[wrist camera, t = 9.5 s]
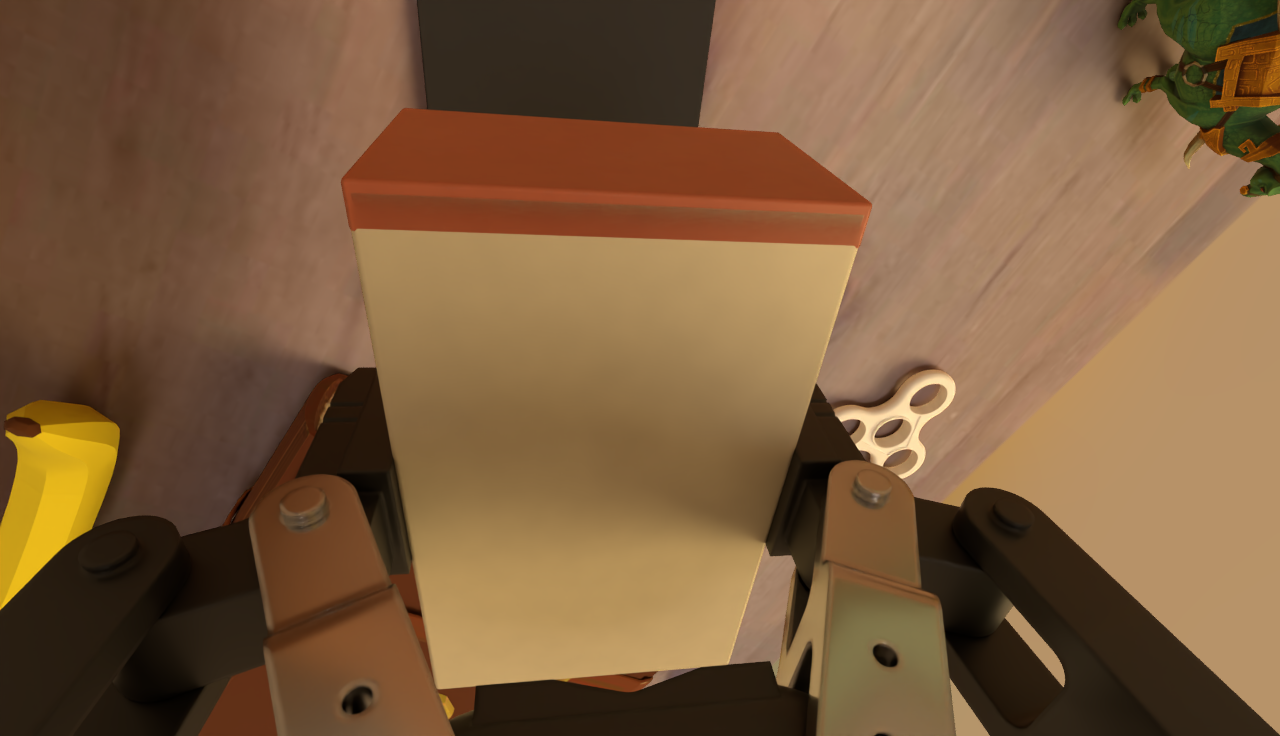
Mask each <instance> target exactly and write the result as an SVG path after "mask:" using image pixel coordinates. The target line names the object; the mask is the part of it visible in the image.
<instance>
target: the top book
mask: <svg viewBox="0 0 1280 736" xmlns="http://www.w3.org/2000/svg"><path fill="white" fill-rule="evenodd" d="M341 185H342V191H343V196H344V201H345V207H346V212H347V218H348V223H349V227H350V229H351V233H352V238H353V244H354V249H355V255H356V260H357V265H358V271H359V276H360V282H361V287H362V293H363V298H364V303H365V309H366V314H367V320H368V325H369V330H370V336H371V341H372V347H373V352H374V358H375V363H376V368H377V374H378V379H379V385H380V390H381V395H382V401H383V406H384V412H385V417H386V423H387V428H388V433H389V439H390V444H391V450H392V455H393V458H394V463H395V469H396V474H397V480H398V485H399V491H400V496H401V501H402V507H403V512H404V518H405V523H406V529H407V534H408V540H409V545H410V551H411V556H412V563H413V569H414V574H415V580H416V585H417V590H418V596H419V601H420V607H421V612H422V618H423V623H424V628H425V634H426V639H427V645H428V650H429V656H430V661H431V666H432V672H433V677H434V683H435V685H436V688H437V689H449V688H461V687H473V686H478V685H490V684H502V683H514V682H526V681H538V680H550V679H554V680H556V679H567V678H579V677H591V676H603V675H615V674H626V673H638V672H650V671H662V670H674V669H685V668H697V667H707V666H719V665H726V664H728V663H729V660H730V657H731V654H732V650H733V647H734V644H735V641H736V637H737V634H738V631H739V628H740V625H741V621H742V618H743V615H744V612H745V609H746V605H747V602H748V599H749V596H750V593H751V589H752V586H753V583H754V580H755V576H756V573H757V570H758V567H759V564H760V560H761V557H762V554H763V551H764V548H765V544H766V539H767V536H768V533H769V530H770V527H771V523H772V520H773V517H774V514H775V511H776V507H777V504H778V501H779V498H780V495H781V491H782V488H783V485H784V482H785V479H786V475H787V472H788V469H789V466H790V463H791V459H792V456H793V453H794V450H795V448H796V445H797V442H798V439H799V435H800V432H801V429H802V426H803V422H804V419H805V416H806V413H807V410H808V406H809V403H810V400H811V397H812V394H813V390H814V387H815V384H816V381H817V378H818V374H819V371H820V368H821V365H822V361H823V358H824V355H825V352H826V349H827V345H828V342H829V339H830V336H831V333H832V329H833V326H834V323H835V320H836V317H837V313H838V310H839V307H840V304H841V301H842V297H843V294H844V291H845V288H846V284H847V281H848V278H849V275H850V272H851V268H852V265H853V262H854V259H855V256H856V252H857V249H858V248H859V246H860V244H861V241H862V238H863V234H864V231H865V228H866V225H867V222H868V218H869V215H870V212H871V209H872V204H871V203H870V202H869V201H868V200H867V199H865V198H864V197H863V196H861V195H860V194H859V193H857V192H856V191H855V190H853V189H852V188H851V187H849V186H848V185H847V184H845V183H844V182H843V181H841V180H840V179H839V178H838V177H836V176H835V175H834V174H832V173H831V172H830V171H828V170H827V169H826V168H824V167H823V166H822V165H820V164H819V163H818V162H816V161H815V160H814V159H812V158H811V157H810V156H809V155H807V154H806V153H805V152H803V151H802V150H801V149H799V148H798V147H797V146H795V145H794V144H793V143H791V142H790V141H789V140H787V139H786V138H785V137H783V136H782V135H781V134H779V133H776V132H761V131H746V130H730V129H715V128H700V127H685V126H670V125H655V124H639V123H624V122H609V121H594V120H579V119H563V118H548V117H533V116H518V115H503V114H487V113H472V112H457V111H442V110H427V109H412V108H404V109H402V110H401V111H400V112H399V114H398V115H397V116H396V117H395V118H394V119H393V120H392V122H391V123H390V124H389V125H388V126H387V127H386V128H385V130H384V131H383V132H382V133H381V134H380V135H379V136H378V138H377V139H376V140H375V141H374V142H373V143H372V144H371V146H370V147H369V148H368V149H367V150H366V151H365V152H364V154H363V155H362V156H361V157H360V158H359V159H358V161H357V162H356V163H355V164H354V165H353V166H352V167H351V169H350V170H349V171H348V172H347V173H346V174H345V175H344V177H343V178H342V180H341Z"/></svg>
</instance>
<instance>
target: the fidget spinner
mask: <svg viewBox="0 0 1280 736" xmlns="http://www.w3.org/2000/svg"><path fill="white" fill-rule="evenodd" d="M930 384H940V390H939V392H938V394H937V395H936V397H935V398H934V399H933V400H931V401H930V402H928V403H927V404H925V405H922V406H917V407H913V406H910V400H911V398H912V397H913V395H914V394H915V393H916V392H917V391H918V390H919V389H921V388H922V387H924V386H927V385H930ZM954 395H955V383H954V381H953V379H952V378H951V377H950V376H949V375H948V374H947V373H945V372H943V371H941V370H935V369H932V370H925V371H921V372H919V373H916V374H914V375H913V376H911V377H910V378H908V379H907V380H906V381H905V382H904V383H903V384H902V385H901V386H900V388H899V389H898V391H897V393H896V394H895V395H894V396H893V397H892V398H891V399H890V400H888V401H887V402H885V403H883V404H881V405H879V406H876V407H870V408H865V407H861V406H857V405H845V406H841V407H838V408H835V409H833V410H834V412H835V417H838V418H839V420H840V421H841V422H843V421H845V420H849V419H857V420H860V425H859V427H858V429H857V430H856V431H855V432H854V433H853V434H852V435H850V437H851V439H852V440H853V442H854V443H855V445H856V447H857V448H858V450H863V451H866V452H868V453H870V456H871V458H870V462H871V463H874V464H877V465H880V466H882V467H883V464H884V462H885V460H886V459H887V458H888V457H889V456H890V455H891V454H893V453H895V452H897V451H899V450H904V449H910V450H912V452H911V454H910V456H909V457H908V459H907V460H906V461H904V462H903V463H901V464H900V465H897V466H894V467H884V468H886V469H888V470H890V471H892V472H893V473H895V474H896V475H897V476H899V477H900V478H901V479H902V478H905V477H907V476H909V475H911V474H912V473H914V472H915V471H916V470H917V469H918V468H919V467H920V466H921V465H922V463H923V461H924V459H925V448H924V446H923V444H922V443H921V442H920V441H919V439H918V435H919V432H920V430H921V428H922V426H923V425H924V424H925V423H926V422H927V421H928V420H929V419H931V418H932V417H934V416H936V415H937V414H939V413H941V412H942V411H943V410H944V409H945V408H946V407H947V406H948V405H949V404H950V403H951V401H952V400H953V397H954ZM894 419H904V420H903V423H902V425H901V427H900V428H899V429H898V430H897V431H896V432H895V433H893V434H892V435H890V436H887V437H884V438H875V437H874V436H875V433H876V431H877V430H878V429H879V428H880V427H881V426H882V425H883V424H885V423H886V422H888V421H891V420H894Z"/></svg>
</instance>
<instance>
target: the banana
mask: <svg viewBox="0 0 1280 736" xmlns="http://www.w3.org/2000/svg"><path fill="white" fill-rule="evenodd" d="M4 429H5V430H6V436H7V437H8V438H9V439H11V440H12V441H13V442H14V444H15V446H16V448H17V453H18V463H17V469H16V475H15V479H14V483H13V487H12V491H11V495H10V499H9V502H8V505H7V507H6V510H5V513H4V516H3V519H2V521H1V524H0V610H1V609H2V608H3V607H4V606H5V605H6V604H7V603H8V602H9V601H10V600H11V599H12V598H13V597H14V596H15V595H16V594H17V593H18V592H19V591H20V590H21V589H22V588H23V587H24V586H25V585H26V584H27V583H28V582H29V581H30V580H31V579H32V578H33V577H34V575H35V574H36V573H37V572H38V571H39V570H40V569H41V568H42V567H43V566H44V565H45V564H46V563H47V562H48V561H49V560H50V559H51V558H52V557H53V556H54V555H55V554H56V553H57V552H59V551H60V550H61V549H62V548H63V547H64V546H65V545H67V544H68V543H69V542H71V541H72V540H74V539H75V538H77V537H78V536H80V535H82V534H83V533H85V532H87V531H89V530H91V529H92V527H93V524H94V522H95V519H96V517H97V514H98V512H99V509H100V507H101V504H102V502H103V499H104V497H105V494H106V491H107V488H108V486H109V483H110V480H111V477H112V474H113V470H114V467H115V463H116V458H117V452H118V445H119V439H120V429H119V427H118V426H117V424H116V423H114V422H113V421H111V420H110V419H108V418H107V417H105V416H103V415H102V414H100V413H99V412H97V411H96V410H94V409H93V408H91V407H90V406H86V405H81V404H72V403H63V402H55V401H46V400H39V401H35V402H32V403H30V404H28V405H26V406H24V407H22V408H20V409H18V410H16V411H14V412H12V413H10V414H8V415H7V420H5V421H4Z"/></svg>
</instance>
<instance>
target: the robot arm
mask: <svg viewBox="0 0 1280 736" xmlns="http://www.w3.org/2000/svg"><path fill="white" fill-rule="evenodd" d="M826 400H827V399H826V398H825V396H824V395H823V393H822V392H821V390H820V388H819V387H818V385H817V384H815V387H814V390H813V394H812V397H811V400H810V403H809V406H808V410H807V413H806V416H805V419H804V422H803V426H802V429H801V432H800V435H799V439H798V442H797V445H796V448H795V450H794V453H793V456H792V459H791V463H790V466H789V469H788V472H787V475H786V479H785V482H784V485H783V488H782V491H781V495H780V498H779V501H778V504H777V507H776V511H775V514H774V517H773V520H772V523H771V527H770V530H769V533H768V536H767V539H766V546H767V549H768V551H769V554H770V556H784V555H792V557H793V560H794V562H795V564H796V566H795V569H794V572H793V575H792V578H791V583H790V590H789V597H788V604H787V611H786V618H785V626H784V633H783V640H782V647H781V654H780V661H779V667H778V672H777V677H776V678H775V675H774V672H773V669H772V666H771V663H770V661H767V662H755V663H743V664H731V665H719V666H707V667H700V668H698V669H695V670H692V671H690V672H687V673H684V674H682V675H679V676H676V677H674V678H671V679H668V680H666V681H663V682H660V683H657V684H655V685H652V686H649V687H647V688H644V689H641V690H639V691H635V692H622V691H616V690H610V689H605V688H599V687H593V686H588V685H582V684H576V683H571V682H565V681H560V680H554V679H550V680H538V681H526V682H514V683H502V684H490V685H478V686H476V690H475V702H474V710H472V711H470V712H467V713H464V714H461V715H459V716H457V717H455V718H453V719H451V720H449V719H448V716H447V714H446V711H445V709H444V706H443V703H442V701H441V698H440V696H439V693H438V690H437V688H436V685H435V683H434V680H433V677H432V675H431V672H430V670H429V667H428V664H427V662H426V659H425V657H424V654H423V651H422V649H421V646H420V644H419V641H418V638H417V636H416V633H415V631H414V628H413V625H412V623H411V620H410V618H409V615H408V612H407V610H406V607H405V604H404V602H403V599H402V597H401V594H400V592H399V590H398V588H397V586H396V584H395V583H394V584H392V583H391V581H390V578H389V575H400V574H409V573H410V568H411V563H412V556H411V551H410V545H409V540H408V534H407V529H406V523H405V518H404V512H403V507H402V501H401V496H400V491H399V485H398V480H397V474H396V469H395V463H394V458H393V455H392V450H391V444H390V439H389V433H388V428H387V423H386V417H385V412H384V406H383V401H382V395H381V390H380V385H379V379H378V374H377V368H357V369H356V370H355V371H354V372H353V373H351V374H350V375H349V376H348V377H347V378H345V379H344V380H343V381H342V382H341V383H340V384H339V385H338V387H337V389H336V391H335V393H334V396H333V398H332V400H331V402H330V407H328V409H327V411H326V413H325V415H324V417H323V423H321V424H320V426H319V428H318V430H317V432H316V434H315V436H314V439H313V441H312V443H311V445H310V447H309V449H308V451H307V454H306V456H305V458H304V460H303V462H302V464H301V466H300V469H299V471H298V473H297V475H296V477H295V479H293V480H290V481H288V482H285V483H283V484H281V485H279V486H277V487H276V488H274V489H272V490H271V491H270V492H268V493H267V494H266V495H264V496H263V497H262V498H261V499H260V500H259V501H258V503H257V504H256V505H255V507H254V508H253V510H252V512H251V514H250V517H249V518H247V519H244V520H242V521H239V522H235V523H232V524H229V525H225V526H221V527H217V528H213V529H209V530H205V531H202V532H198V533H194V534H190V535H186V536H182V537H181V536H180V534H179V532H178V530H177V528H176V527H175V526H174V524H173V523H172V522H170V521H168V520H166V519H164V518H161V517H156V516H133V517H127V518H122V519H118V520H114V521H111V522H108V523H105V524H103V525H100V526H98V527H95V528H93V529H91V530H89V531H87V532H85V533H83V534H82V535H80V536H78V537H77V538H75V539H74V540H72V541H71V542H69V543H68V544H67V545H65V546H64V547H63V548H62V549H61V550H60V551H59V552H57V553H56V554H55V555H54V556H53V557H52V558H51V559H50V560H49V561H48V562H47V563H46V564H45V565H44V566H43V567H42V568H41V569H40V570H39V571H38V572H37V573H36V574H35V575H34V577H33V578H32V579H31V580H30V581H29V582H28V583H27V584H26V585H25V586H24V587H23V588H22V589H21V590H20V591H19V592H18V593H17V594H16V595H15V596H14V597H13V598H12V599H11V600H10V601H9V602H8V603H7V604H6V605H5V606H4V607H3V608H2V609H1V610H0V736H198V735H199V733H200V731H201V730H202V728H203V726H204V724H205V723H206V721H207V719H208V717H209V716H210V714H211V712H212V710H213V709H214V707H215V705H216V703H217V702H218V700H219V698H220V696H221V695H222V693H223V691H224V689H225V688H226V686H227V684H228V682H229V681H230V679H231V677H232V676H234V675H237V674H240V673H243V672H246V671H248V670H251V669H254V668H257V667H260V666H263V665H265V664H266V670H267V676H268V682H269V688H270V693H271V699H272V705H273V711H274V717H275V723H276V729H277V734H278V736H956V732H955V723H954V714H953V705H952V695H951V687H950V679H951V680H952V682H953V683H954V685H955V686H956V687H957V689H958V690H959V692H960V693H961V695H962V696H963V697H964V699H965V700H966V702H967V703H968V705H969V706H970V707H971V709H972V710H973V712H974V713H975V715H976V716H977V717H978V719H979V720H980V722H981V723H982V725H983V726H984V728H985V729H986V730H987V732H988V733H989V735H990V736H1280V735H1279V734H1278V733H1277V732H1276V731H1275V730H1274V729H1273V728H1272V727H1271V726H1270V725H1269V724H1267V723H1266V722H1265V721H1264V720H1263V719H1262V718H1261V717H1260V716H1259V715H1258V714H1257V713H1256V712H1255V711H1254V710H1252V709H1251V707H1249V706H1248V705H1247V704H1246V703H1245V702H1244V701H1243V700H1242V699H1241V698H1240V697H1239V696H1238V695H1237V694H1236V693H1235V692H1234V691H1232V690H1231V689H1230V688H1229V687H1228V686H1227V685H1226V684H1225V683H1224V682H1223V681H1222V680H1221V679H1219V677H1218V676H1217V675H1215V674H1214V673H1213V672H1212V671H1211V670H1210V669H1209V668H1208V667H1207V666H1206V665H1204V663H1203V662H1202V661H1201V660H1200V659H1198V658H1197V657H1196V656H1195V655H1194V654H1193V653H1192V652H1191V651H1190V650H1189V649H1188V648H1187V647H1186V646H1185V645H1184V644H1183V643H1181V642H1180V641H1179V640H1178V639H1177V638H1176V637H1175V636H1174V635H1173V634H1172V633H1171V632H1170V631H1169V630H1168V629H1167V628H1166V627H1164V626H1163V625H1162V624H1161V623H1160V622H1159V621H1158V620H1157V619H1156V618H1155V617H1154V616H1153V615H1152V614H1151V613H1150V612H1149V611H1148V610H1146V609H1145V608H1144V607H1143V606H1142V605H1141V604H1140V603H1139V602H1138V601H1137V600H1136V599H1135V598H1134V597H1133V596H1132V595H1130V594H1129V593H1128V592H1127V591H1126V590H1125V589H1124V588H1123V587H1122V586H1121V585H1120V584H1119V583H1118V582H1117V581H1115V579H1113V578H1112V577H1111V576H1110V575H1109V574H1108V573H1107V572H1106V571H1105V570H1104V569H1103V568H1102V567H1101V566H1100V565H1099V564H1098V563H1097V562H1095V561H1094V560H1093V559H1092V558H1091V557H1090V556H1089V555H1088V554H1087V553H1086V552H1085V551H1084V550H1083V549H1082V548H1081V547H1080V546H1078V545H1077V544H1076V543H1075V542H1074V541H1073V540H1072V539H1071V538H1070V537H1069V536H1068V535H1067V534H1066V533H1065V532H1064V531H1063V530H1061V529H1060V528H1059V527H1058V526H1057V525H1056V524H1055V523H1054V522H1053V521H1052V520H1051V519H1050V518H1049V517H1048V516H1046V515H1045V514H1044V513H1043V512H1042V511H1041V510H1040V509H1039V508H1038V507H1036V506H1035V505H1033V504H1032V503H1030V502H1029V501H1027V500H1025V499H1024V498H1022V497H1020V496H1018V495H1016V494H1013V493H1010V492H1008V491H1004V490H1001V489H996V488H978V489H974V490H972V491H970V492H969V493H968V494H967V495H966V497H965V499H964V501H963V503H962V504H961V506H960V507H957V506H952V505H948V504H943V503H938V502H934V501H929V500H924V499H920V498H916V497H914V496H913V494H912V491H911V490H910V488H909V487H908V485H907V484H906V483H905V482H904V481H903V480H902V479H901V478H900V477H899V476H897V475H896V474H895V473H893V472H892V471H890V470H888V469H886V468H884V467H882V466H880V465H877V464H874V463H871V462H866V461H865V459H864V458H863V456H862V454H861V453H860V451H859V450H858V448H857V447H856V445H855V443H854V442H853V440H852V439H851V437H850V436H849V434H848V432H847V431H846V429H845V428H844V426H843V425H842V423H841V421H840V420H839V418H838V417H835V412H834V410H833V409H832V407H831V406H830V404H829V403H827V402H826ZM1013 605H1014V606H1015V608H1016V609H1017V610H1018V611H1019V612H1020V613H1021V614H1022V615H1023V617H1024V618H1025V619H1026V620H1027V621H1028V622H1029V624H1030V625H1031V626H1032V627H1033V628H1034V629H1035V631H1036V632H1037V633H1038V634H1039V635H1040V636H1041V637H1042V639H1043V640H1044V641H1045V642H1046V643H1047V644H1048V645H1049V647H1050V648H1051V649H1052V650H1053V651H1054V653H1055V654H1056V655H1057V657H1058V658H1059V660H1060V662H1061V664H1062V666H1063V669H1064V673H1065V685H1064V688H1063V687H1062V685H1061V684H1060V683H1059V682H1058V681H1057V680H1056V678H1055V677H1054V676H1053V675H1052V674H1051V672H1050V671H1049V670H1048V669H1047V668H1046V667H1045V665H1044V664H1043V663H1042V662H1041V660H1040V659H1039V658H1038V657H1037V656H1036V654H1035V653H1034V652H1033V651H1032V650H1031V649H1030V647H1029V646H1028V645H1027V644H1026V643H1025V642H1024V640H1023V639H1022V638H1021V637H1020V635H1019V634H1018V633H1017V632H1016V631H1015V629H1014V628H1013V627H1012V626H1011V625H1010V623H1009V622H1008V621H1007V620H1006V619H1005V617H1006V615H1007V614H1008V612H1009V611H1010V610H1011V608H1012V607H1013Z"/></svg>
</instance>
